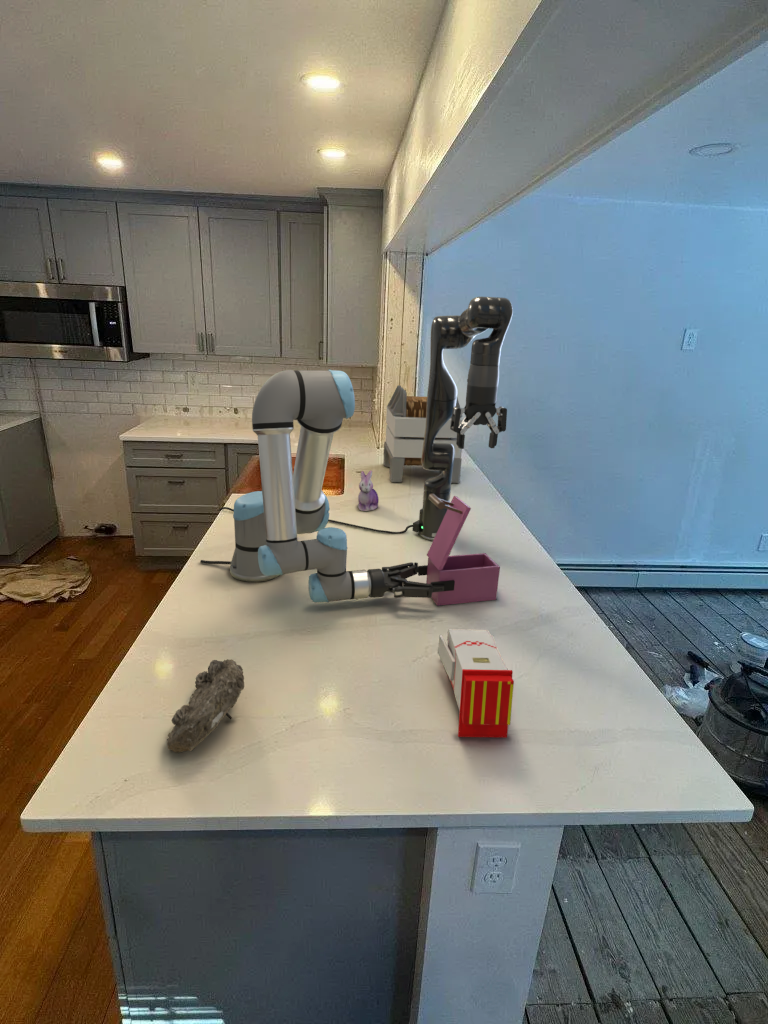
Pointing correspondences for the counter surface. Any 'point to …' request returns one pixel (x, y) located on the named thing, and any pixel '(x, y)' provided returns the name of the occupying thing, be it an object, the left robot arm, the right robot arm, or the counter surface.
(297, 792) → the counter surface
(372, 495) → the figurine
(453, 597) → the chest
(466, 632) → the toy
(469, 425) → the right robot arm
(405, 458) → the grey slatted box
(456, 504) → the lid
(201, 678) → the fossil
